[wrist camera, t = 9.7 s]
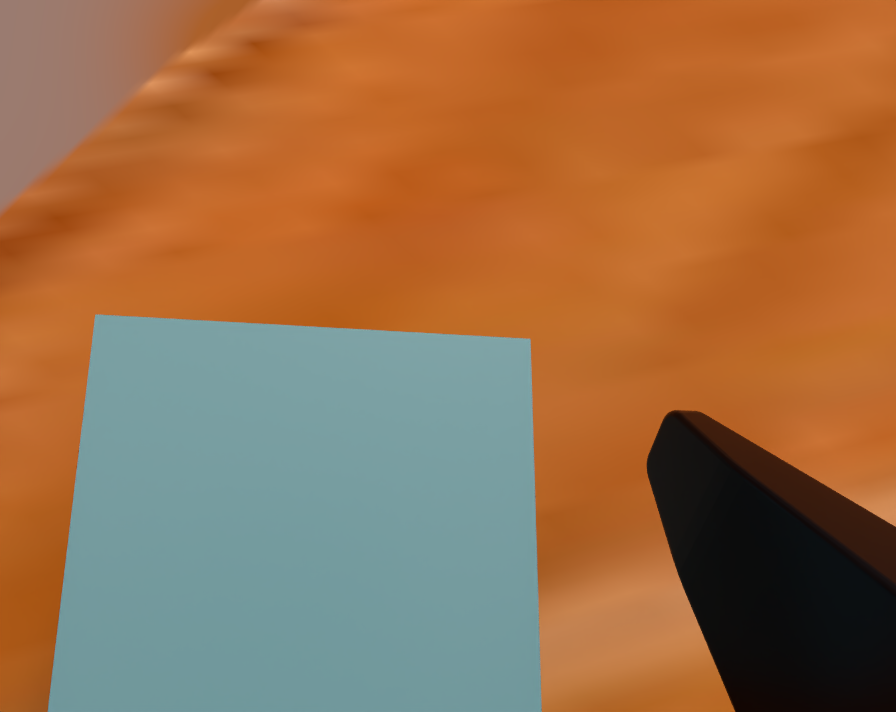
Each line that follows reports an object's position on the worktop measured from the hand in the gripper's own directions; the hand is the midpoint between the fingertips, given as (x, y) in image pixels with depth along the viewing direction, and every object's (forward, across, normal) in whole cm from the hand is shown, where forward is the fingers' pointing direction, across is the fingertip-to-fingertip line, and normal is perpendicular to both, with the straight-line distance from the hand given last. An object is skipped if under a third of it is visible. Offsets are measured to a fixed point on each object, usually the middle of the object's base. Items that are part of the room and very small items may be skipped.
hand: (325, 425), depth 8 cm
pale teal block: (+5, 0, +7) cm, 9 cm away
